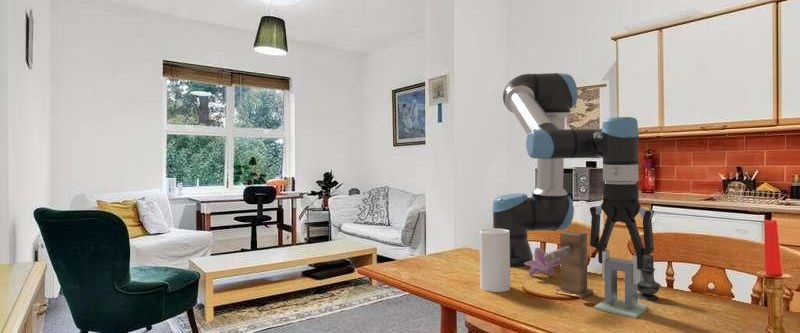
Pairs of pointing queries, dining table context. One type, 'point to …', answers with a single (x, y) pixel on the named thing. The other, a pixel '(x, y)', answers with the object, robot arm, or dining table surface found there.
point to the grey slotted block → (611, 280)
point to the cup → (495, 260)
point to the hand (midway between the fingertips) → (620, 279)
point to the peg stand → (572, 263)
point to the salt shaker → (648, 281)
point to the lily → (542, 263)
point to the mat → (621, 308)
